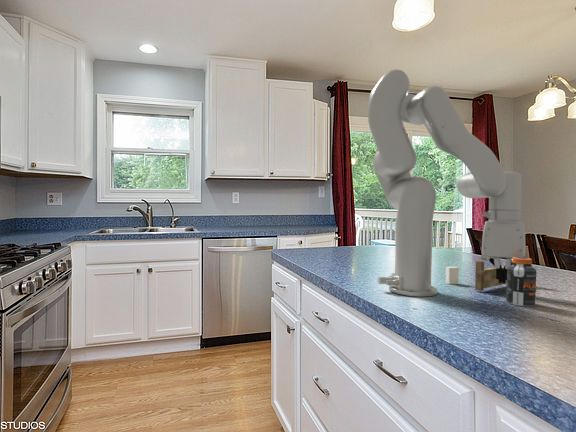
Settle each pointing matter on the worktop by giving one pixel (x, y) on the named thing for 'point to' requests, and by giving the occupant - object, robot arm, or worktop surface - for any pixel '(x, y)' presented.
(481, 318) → the worktop surface
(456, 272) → the block
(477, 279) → the gate
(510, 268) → the pill bottle
